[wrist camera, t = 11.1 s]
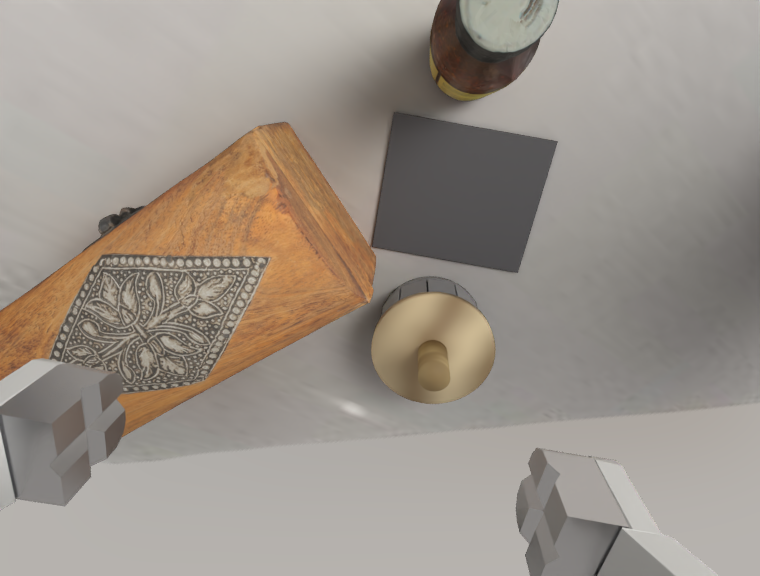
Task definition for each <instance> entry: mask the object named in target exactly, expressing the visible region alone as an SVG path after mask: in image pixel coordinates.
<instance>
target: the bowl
mask: <svg viewBox="0 0 760 576" xmlns="http://www.w3.org/2000/svg"><path fill="white" fill-rule="evenodd" d="M422 292H444V293H449V294H453V295H456V296H458V297H461V298H463V299H465V300H467V301H468V302H470V303H471V304H473V305H474V306H475V307H476V308H477V305H476V302H475V300H474V299H473V298H472V296H471V295H470V294H469V293H468V292H467V291H466V290H465V289H464V288H463V287H461V286H460V285H459V284H457V283H455V282H453V281H451V280H448V279H444V278H440V277H421V278H416V279H413V280H410V281H408V282H406V283H404V284H402V285H401V286H399V287H398V288H397V289H396V290H394V291H393V292H392V293H391V295H390V296H389V297H388V299H387V300H386V302H385V304H384V305H383V308H382V313H381V316H382V315H383V314H384V313H385V312H386V310H388V309H389V308H390V307H391V306H392V305H393V304H395V303H396V302H398V301H399V300H401V299H403V298H405V297H408V296H410V295H413V294H417V293H422ZM477 309H478V308H477Z"/></svg>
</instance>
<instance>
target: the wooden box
mask: <svg viewBox="0 0 760 576" xmlns="http://www.w3.org/2000/svg"><path fill="white" fill-rule="evenodd" d="M99 232H100V233H101V234H102V235H101V237H100V238H99V239H97V240H96V241H95V242H93V243H92V244H91V245H89V246H88V247H87V248H85V249H84V250H83V252H82V253H80V254H79V255H78V256H76V257H75V258H73V259H72V260H71V261H69V262H68V263H67V264H65V265H64V266H62V267H61V268H60V269H59V270H57V271H56V272H54V273H53V274H52V275H50V276H49V277H47V278H46V279H45V280H43V281H42V282H41V283H39V284H38V285H37V286H35V287H34V288H32V289H31V290H30V291H28V292H27V293H25V294H24V295H23V296H21V297H20V298H18V299H17V300H15V301H14V302H12V303H11V304H10V305H8V306H7V307H5V308H4V309H2V310H1V311H0V381H1V380H2V379H4V378H5V377H7V376H8V375H10V374H11V373H13V372H14V371H16V370H18V369H19V368H21V367H22V366H24V365H25V364H27V363H28V362H30V361H31V360H34V359H41V358H44V359H49V360H54V361H59V362H64V363H71V364H76V365H81V366H86V367H91V368H96V369H101V370H106V371H111V372H116V373H117V374H119V375H120V376H121V377H122V382H123V389H124V391H123V393H122V394H121V395H120V396H119V397H118V398H117V400H118V401H119V403H120V404H121V405H122V406H123V408H124V409H125V415H126V422H125V428H124V433H123V435H122V437H123V436H125V435H126V434H128V433H130V432H132V431H133V430H135V429H137V428H139V427H140V426H142V425H144V424H146V423H148V422H149V421H151V420H153V419H155V418H156V417H158V416H160V415H162V414H164V413H165V412H167V411H169V410H171V409H172V408H174V407H176V406H177V405H179V404H181V403H183V402H185V401H186V400H188V399H190V398H192V397H194V396H196V395H198V394H200V393H202V392H203V391H205V390H207V389H209V388H211V387H213V386H214V385H216V384H218V383H220V382H221V381H223V380H225V379H227V378H229V377H231V376H233V375H234V374H236V373H238V372H240V371H242V370H244V369H245V368H247V367H249V366H251V365H253V364H254V363H256V362H258V361H260V360H262V359H264V358H265V357H267V356H269V355H271V354H273V353H275V352H277V351H278V350H280V349H282V348H284V347H286V346H288V345H290V344H292V343H294V342H295V341H297V340H299V339H301V338H303V337H305V336H307V335H309V334H310V333H312V332H314V331H316V330H318V329H320V328H321V327H323V326H325V325H327V324H329V323H330V322H332V321H334V320H336V319H338V318H340V317H342V316H344V315H346V314H348V313H350V312H351V311H353V310H355V309H357V308H359V307H361V306H363V305H365V304H367V303H370V300H371V298H372V295H373V288H372V284H373V278H374V274H375V266H376V256H375V254H374V253H373V251H372V250H371V248H370V246H369V245H368V243H367V242H366V240H365V239H364V237H363V236H362V234H361V233H360V231H359V229H358V228H357V226H356V225H355V223H354V222H353V220H352V218H351V217H350V215H349V214H348V213H347V211H346V209H345V208H344V206H343V205H342V203H341V202H340V200H339V199H338V197H337V196H336V194H335V193H334V191H333V190H332V188H331V187H330V185H329V184H328V182H327V181H326V179H325V178H324V176H323V175H322V173H321V172H320V170H319V169H318V167H317V166H316V164H315V163H314V161H313V159H312V158H311V157H310V155H309V154H308V152H307V151H306V149H305V148H304V146H303V145H302V143H301V142H300V140H299V139H298V137H297V136H296V134H295V133H294V131H293V129H292V128H291V126H290V125H289V124H288V123H286V122H282V123H275V124H268V125H262V126H258V127H256V128H254V129H253V130H252V131H250V132H248V133H247V134H245V135H244V136H243V137H241V138H240V139H238V140H237V141H236V142H235V143H233V144H232V145H231V146H230V147H228V148H227V149H226V150H224V151H223V152H222V153H220V154H219V155H218V156H216V157H215V158H214V159H212V160H211V161H210V162H208V163H207V164H205V165H204V166H203V167H201V168H200V169H198V170H197V171H195V172H194V173H192V174H191V175H189V176H188V177H186V178H185V179H183V180H182V181H180V182H179V183H178V184H176V185H175V186H173V187H172V188H171V189H169V190H168V191H166V192H165V193H163V194H162V195H161V196H159V197H158V198H157V199H155V200H154V201H152V202H151V203H149V204H148V205H147V206H141V207H138V208H136V209H134V208H129V207H128V208H123V209H121V211H120V214H119V215H116V214H112V215H109V216H107V217H105V218H103V219H102V220H100V222H99Z"/></svg>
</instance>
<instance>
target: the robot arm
mask: <svg viewBox="0 0 760 576" xmlns="http://www.w3.org/2000/svg"><path fill="white" fill-rule="evenodd" d="M123 391H124V389H123V382H122V377H121V376H120V375H119V374H117V373H116V372H111V371H106V370H101V369H96V368H91V367H86V366H81V365H76V364H71V363H64V362H59V361H54V360H49V359H44V358H41V359H34V360H31V361H30V362H28V363H27V364H25V365H24V366H22V367H21V368H19V369H18V370H16V371H14V372H13V373H11V374H10V375H8V376H7V377H5V378H4V379H2V380H1V381H0V510H2V509H4V508H5V507H7V506H9V505H11V504H13V503H14V502H15V501H16V499H20V500H27V501H33V502H40V503H47V504H53V505H60V506H65V505H66V504H67V503H68V502H69V501H70V500H71V499H72V498H73V496H74V495H75V494H76V493H77V492H78V491H79V489H80V488H81V487H82V486H83V485H84V484H85V483H86V482H87V481H88V479H89V478H90V477H91V466H92V465H94V464H96V463H98V462H101V461H103V460H105V459H107V458H108V457H109V455H110V454H111V453H112V452H113V451H114V449H115V448H116V447H117V445H118V443H119V441H120V439H121V437H122V435H123V433H124V428H125V422H126V415H125V409H124V408H123V406H122V405H121V404H120V403H119V401H118V400H117V398H118V397H119V396H120V395H121V394H122V393H123ZM528 464H529V467H530V471H531V475H530V476H529V477H527V478H525V479H524V480H522V482H521V485H520V488H519V491H518V494H517V503H516V515H517V523H518V528H519V532H520V534H521V535H522V536H523V537H524V538H525V539H526V540H527V542H528V543H529V547H528V549H527V552H526V554H525V557H526V560H527V564H528V568H529V572H530V576H719V575H717V574H716V573H715V572H714V571H713V570H712V569H710V568H709V567H708V566H707V565H705V564H704V563H703V562H701V560H699V559H698V558H697V557H696V556H694V555H693V554H692V553H691V552H690V551H688V550H687V549H686V548H685V547H684V546H682V545H681V544H680V543H679V542H677V541H676V540H675V539H674V538H673V537H671V536H667V535H662V534H661V532H660V530H659V528H658V527H657V525H656V523H655V521H654V520H653V518H652V516H651V515H650V513H649V511H648V509H647V508H646V506H645V504H644V502H643V501H642V499H641V497H640V496H639V494H638V492H637V490H636V489H635V487H634V485H633V484H632V482H631V480H630V478H629V477H628V475H627V473H626V472H625V470H624V468H623V466H622V465H621V464H620V463H619V462H617V461H616V460H611V459H605V458H598V457H592V456H589V457H586V456H581V455H575V454H569V453H564V452H558V451H552V450H546V449H540V448H536V450H535V451H534V452H533V453H532V455H531V458H530V460H529V463H528Z"/></svg>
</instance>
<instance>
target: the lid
mask: <svg viewBox="0 0 760 576" xmlns="http://www.w3.org/2000/svg"><path fill="white" fill-rule="evenodd" d="M371 356H372V361H373V364H374V367H375V370H376V372H377V374H378V375H379V377H380V378H381V380H382V381H383V382H384V383H385V384H386V385H387V386H388V387H389V388H390V389H391V390H392V391H394V392H395V393H397V394H398V395H400V396H402V397H404V398H406V399H409V400H412V401H416V402H420V403H427V404H439V403H446V402H451V401H454V400H457V399H460V398H462V397H464V396H466V395H468V394H470V393H471V392H473V391H474V390H475V389H477V388H478V387H479V386H480V385H481V384H482V383H483V381H484V380H485V379H486V378H487V376H488V374H489V373H490V371H491V368H492V366H493V363H494V359H495V341H494V337H493V334H492V331H491V328H490V326H489V323H488V322H487V320H486V318H485V317H484V315H483V314H482V313H481V312H480V311H479V310H478V309H477V308H476V307H475V306H474V305H473V304H471V303H470V302H468V301H467V300H465V299H463V298H461V297H458V296H456V295H453V294H449V293H444V292H422V293H417V294H413V295H410V296H408V297H405V298H403V299H401V300H399V301H398V302H396V303H395V304H393V305H392V306H391V307H390V308H389V309H388V310H386V312H385V313H384V314H383V315H382V316H381V318H380V320H379V321H378V323H377V325H376V328H375V330H374V334H373V339H372V346H371Z"/></svg>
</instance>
